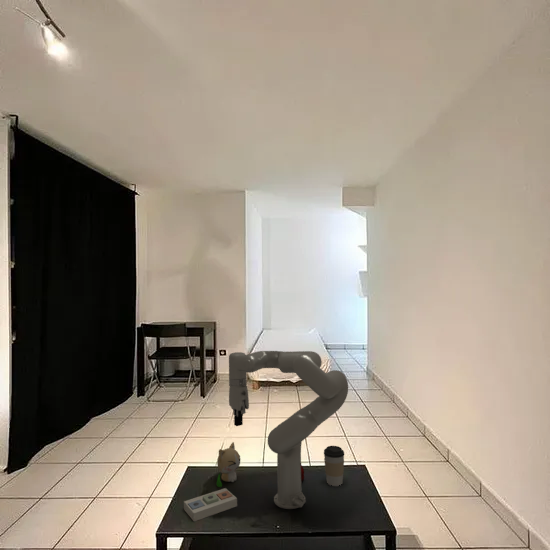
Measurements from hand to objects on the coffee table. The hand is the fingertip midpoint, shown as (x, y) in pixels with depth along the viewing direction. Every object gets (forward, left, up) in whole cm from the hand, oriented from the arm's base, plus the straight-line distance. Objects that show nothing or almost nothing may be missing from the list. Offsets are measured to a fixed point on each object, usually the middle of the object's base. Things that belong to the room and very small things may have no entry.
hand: (238, 425), depth 171 cm
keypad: (-6, +16, -27) cm, 32 cm away
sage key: (-6, +16, -26) cm, 31 cm away
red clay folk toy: (-8, -24, -27) cm, 37 cm away
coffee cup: (-19, -37, -27) cm, 50 cm away
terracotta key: (-6, +10, -26) cm, 29 cm away
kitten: (+10, 0, -27) cm, 29 cm away
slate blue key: (-6, +22, -26) cm, 35 cm away
